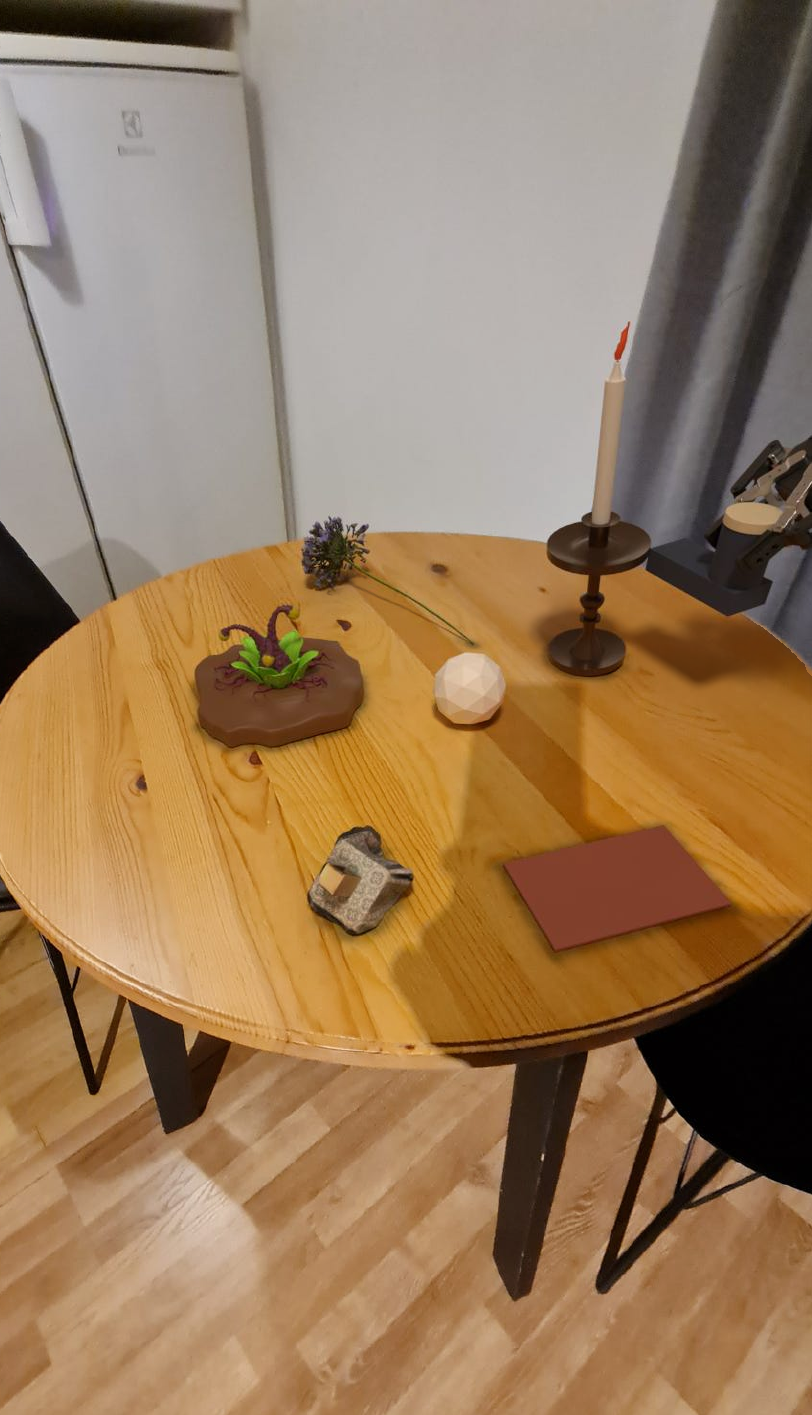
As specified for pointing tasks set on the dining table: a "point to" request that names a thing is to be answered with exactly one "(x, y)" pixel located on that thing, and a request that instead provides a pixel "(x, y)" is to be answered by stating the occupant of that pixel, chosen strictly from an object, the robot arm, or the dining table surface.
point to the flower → (339, 555)
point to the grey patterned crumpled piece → (358, 882)
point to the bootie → (719, 562)
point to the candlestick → (598, 548)
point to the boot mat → (613, 887)
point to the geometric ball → (469, 688)
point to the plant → (277, 687)
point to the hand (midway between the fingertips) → (725, 554)
